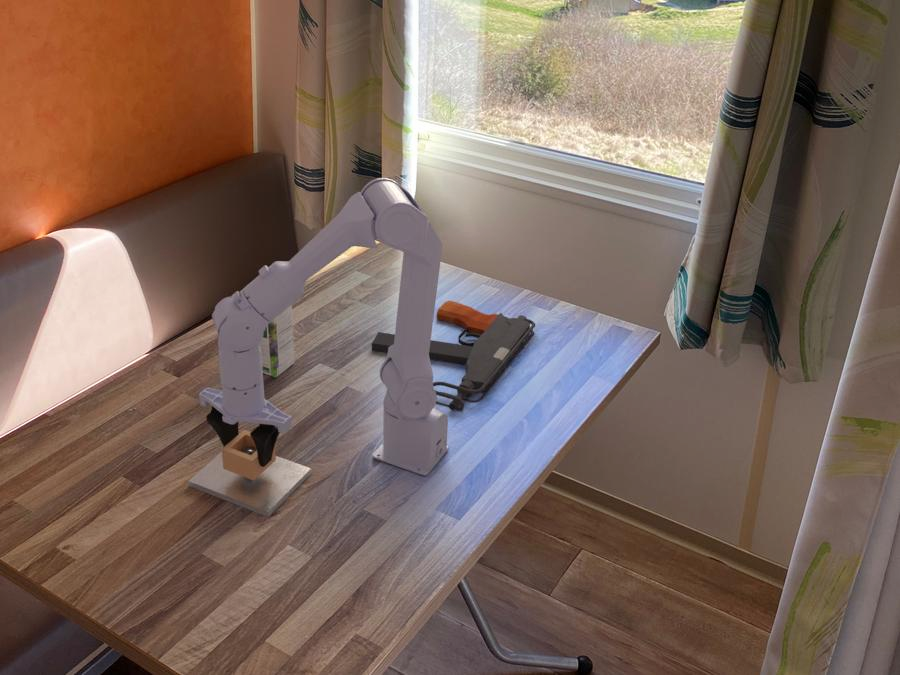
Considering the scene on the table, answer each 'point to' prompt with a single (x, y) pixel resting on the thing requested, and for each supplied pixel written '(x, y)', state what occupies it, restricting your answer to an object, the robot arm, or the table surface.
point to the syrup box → (278, 344)
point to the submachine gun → (473, 348)
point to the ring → (243, 457)
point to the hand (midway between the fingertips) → (248, 456)
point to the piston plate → (252, 483)
